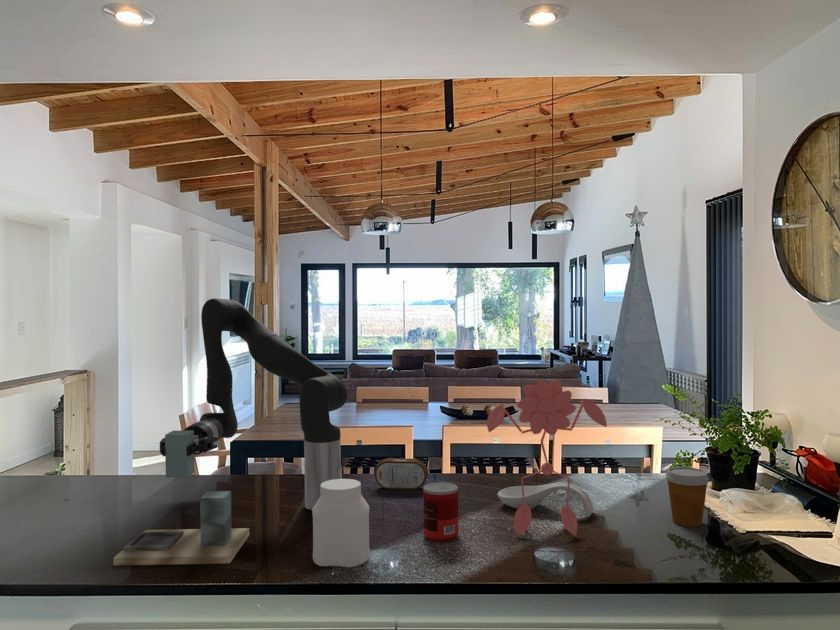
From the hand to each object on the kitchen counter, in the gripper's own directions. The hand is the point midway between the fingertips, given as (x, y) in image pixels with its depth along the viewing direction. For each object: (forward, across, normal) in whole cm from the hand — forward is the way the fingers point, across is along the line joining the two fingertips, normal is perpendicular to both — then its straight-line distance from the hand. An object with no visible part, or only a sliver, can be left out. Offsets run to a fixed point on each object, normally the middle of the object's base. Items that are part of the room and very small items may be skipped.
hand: (176, 451), depth 147 cm
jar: (+19, +40, +18) cm, 48 cm away
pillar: (-3, 0, +6) cm, 7 cm away
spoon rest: (-10, +88, +19) cm, 90 cm away
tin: (-30, +52, +18) cm, 63 cm away
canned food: (+8, +61, +18) cm, 64 cm away
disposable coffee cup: (+2, +119, +18) cm, 120 cm away
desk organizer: (+13, +6, +18) cm, 23 cm away
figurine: (+11, +84, +18) cm, 87 cm away
